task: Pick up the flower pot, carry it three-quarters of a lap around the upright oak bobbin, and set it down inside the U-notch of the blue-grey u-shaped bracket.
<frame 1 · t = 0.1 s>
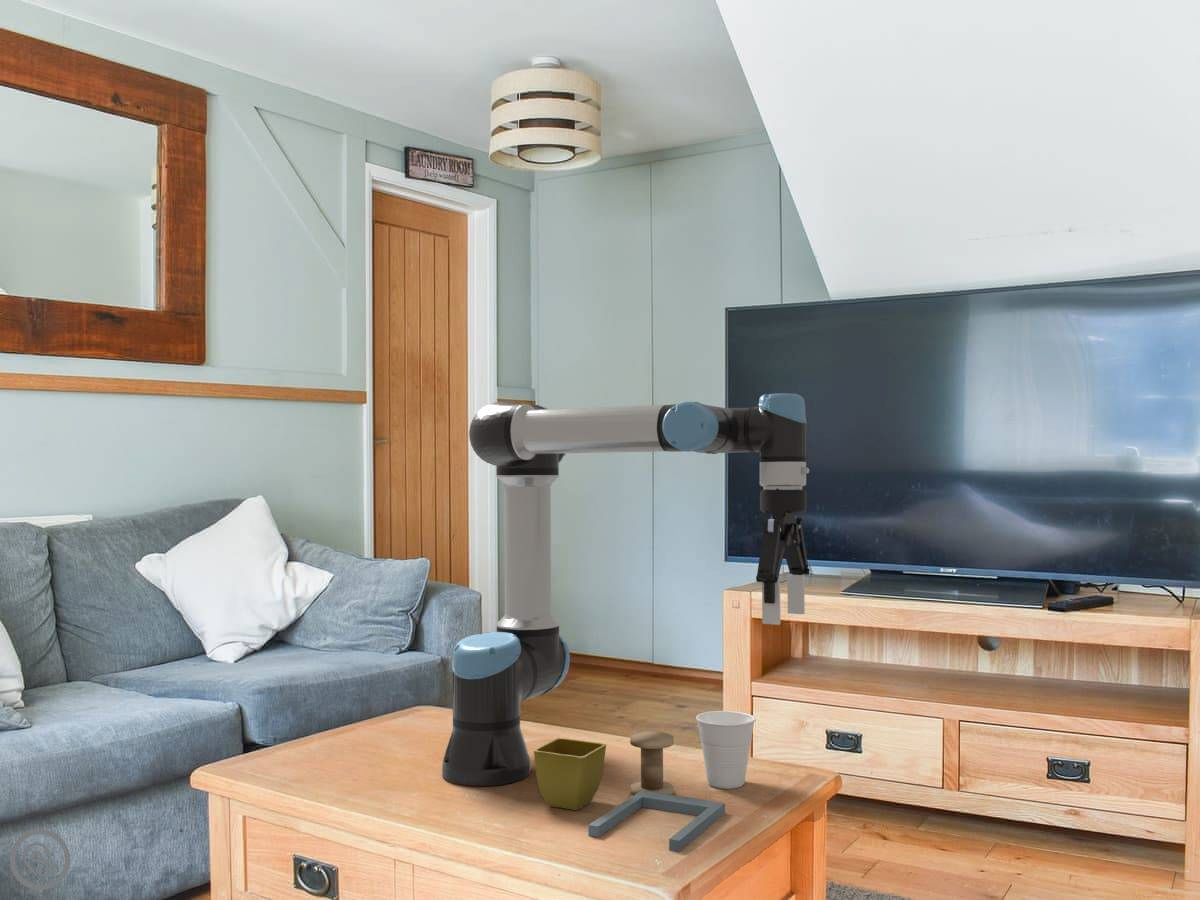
hand: (784, 618, 165), 28 cm above the table, fingers open, 13 cm apart
bobbin: (652, 792, 164), on the table
blue-grey u-shaped bracket: (659, 823, 149), on the table
cup: (726, 785, 169), on the table
flower pot: (570, 806, 158), on the table
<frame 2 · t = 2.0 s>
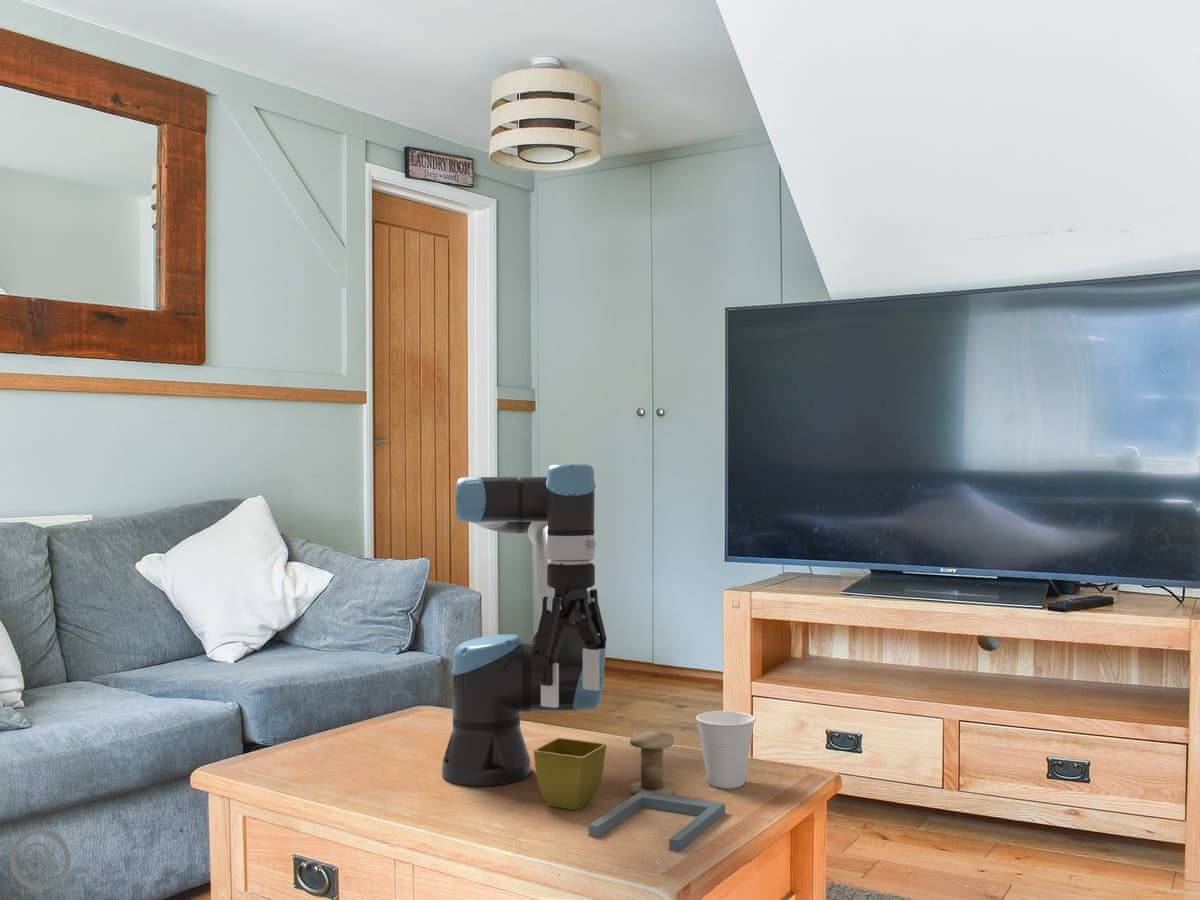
hand: (571, 697, 159), 17 cm above the table, fingers open, 13 cm apart
nothing on the table moved.
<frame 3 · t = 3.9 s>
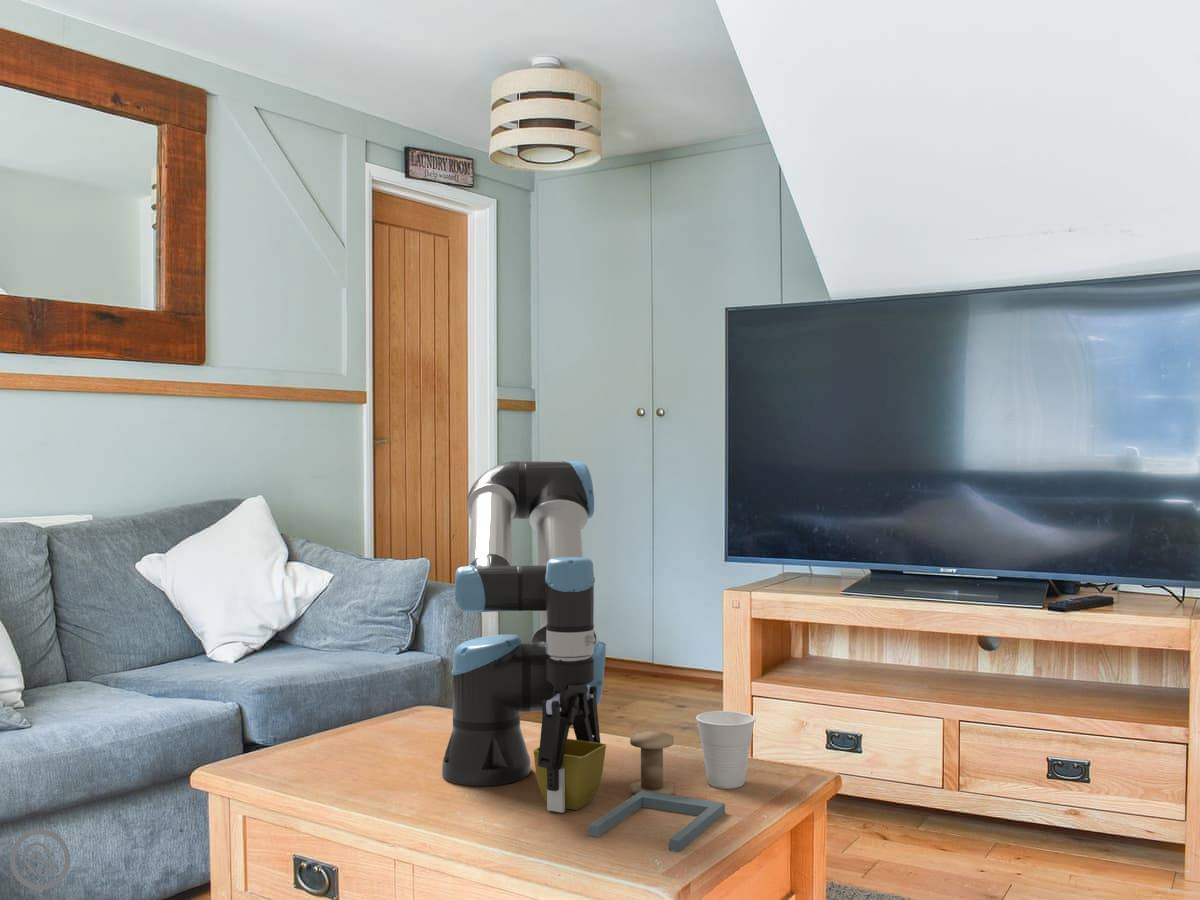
hand: (570, 801, 158), 0 cm above the table, fingers closed on flower pot, 8 cm apart
flower pot: (570, 805, 158), on the table, touching gripper
everything else where it was.
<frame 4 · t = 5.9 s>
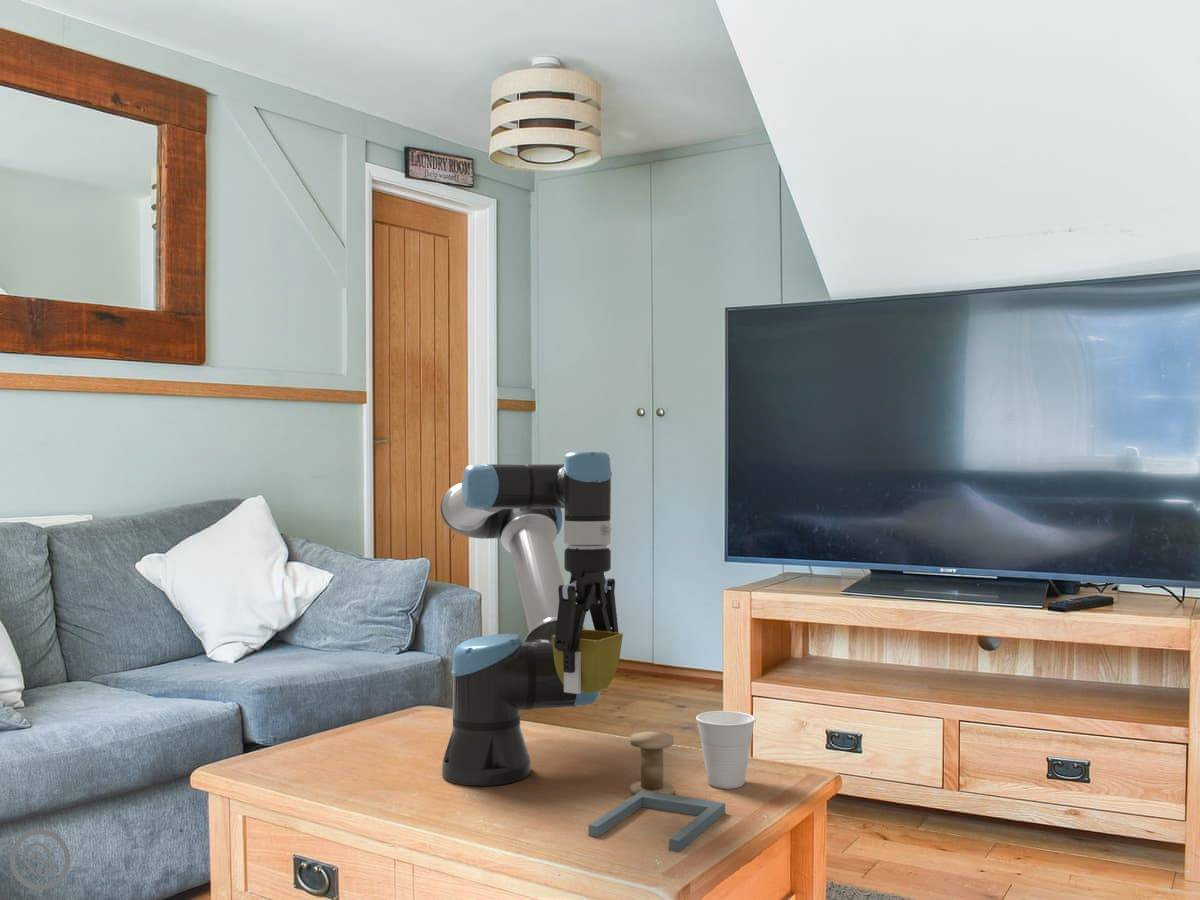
hand: (587, 687, 164), 17 cm above the table, fingers closed on flower pot, 8 cm apart
flower pot: (587, 691, 164), point 17 cm above the table, touching gripper
everything else where it was.
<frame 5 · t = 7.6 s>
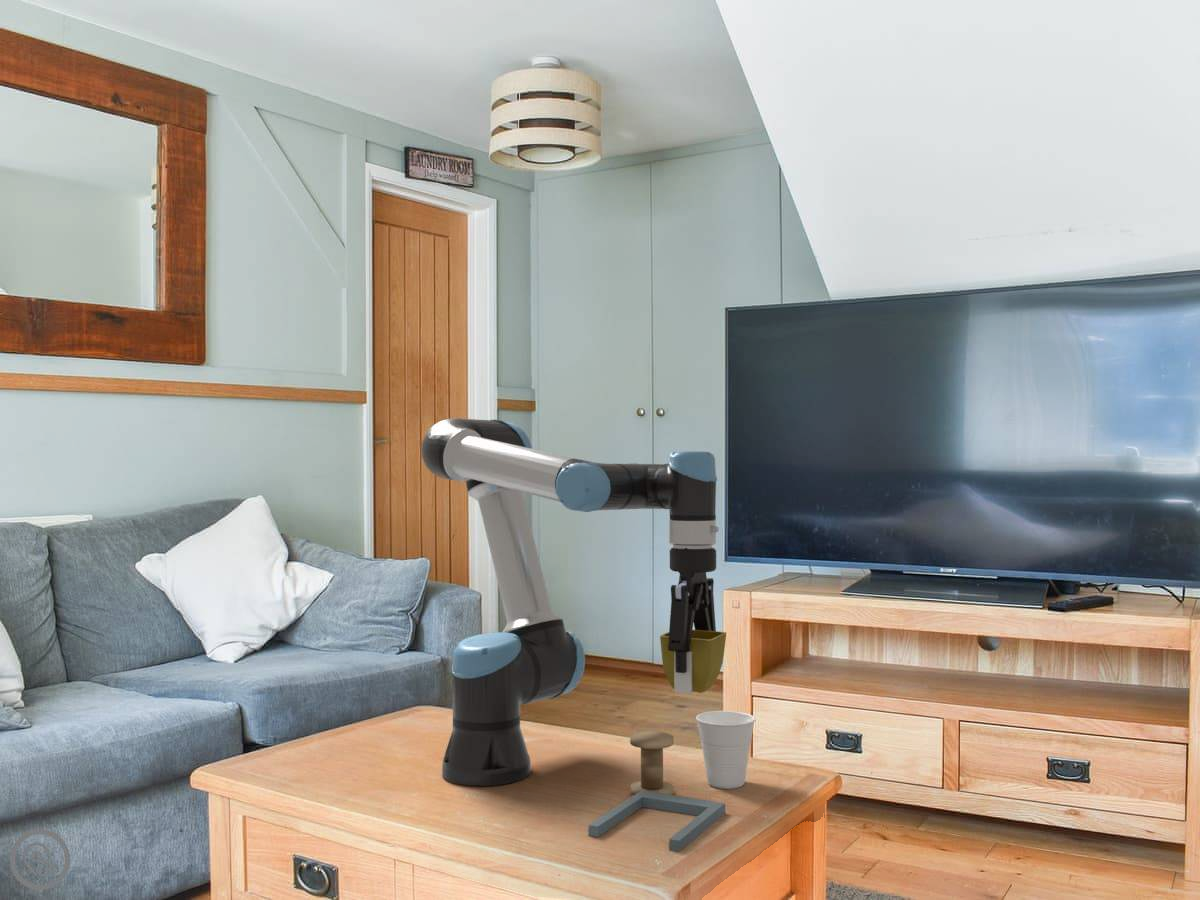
hand: (693, 687, 163), 17 cm above the table, fingers closed on flower pot, 8 cm apart
flower pot: (693, 690, 163), point 17 cm above the table, touching gripper
everything else where it was.
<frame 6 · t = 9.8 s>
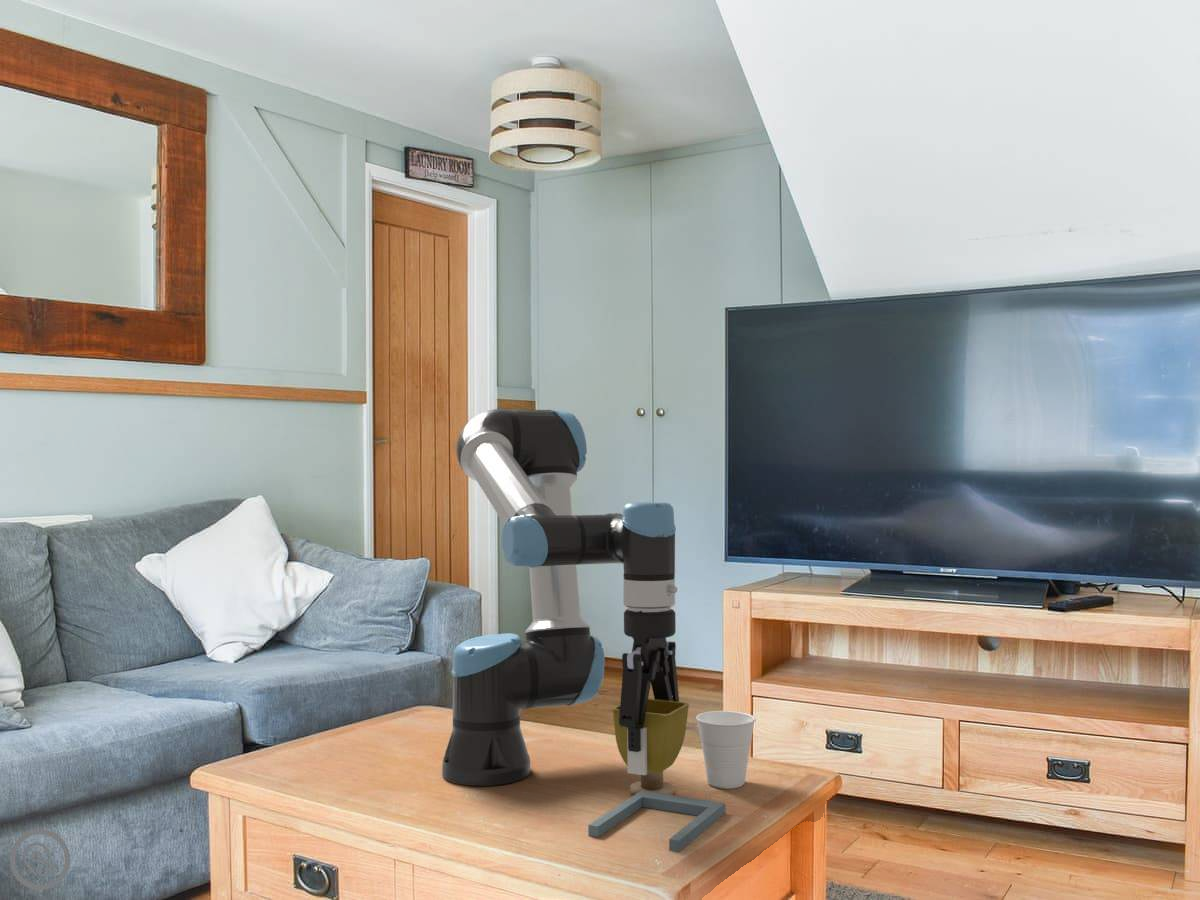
hand: (650, 765, 147), 9 cm above the table, fingers closed on flower pot, 8 cm apart
flower pot: (651, 769, 147), point 9 cm above the table, touching gripper
everything else where it was.
when the fingers open (2 cm above the table, at t = 11.4 s): flower pot drops 1 cm, on the table.
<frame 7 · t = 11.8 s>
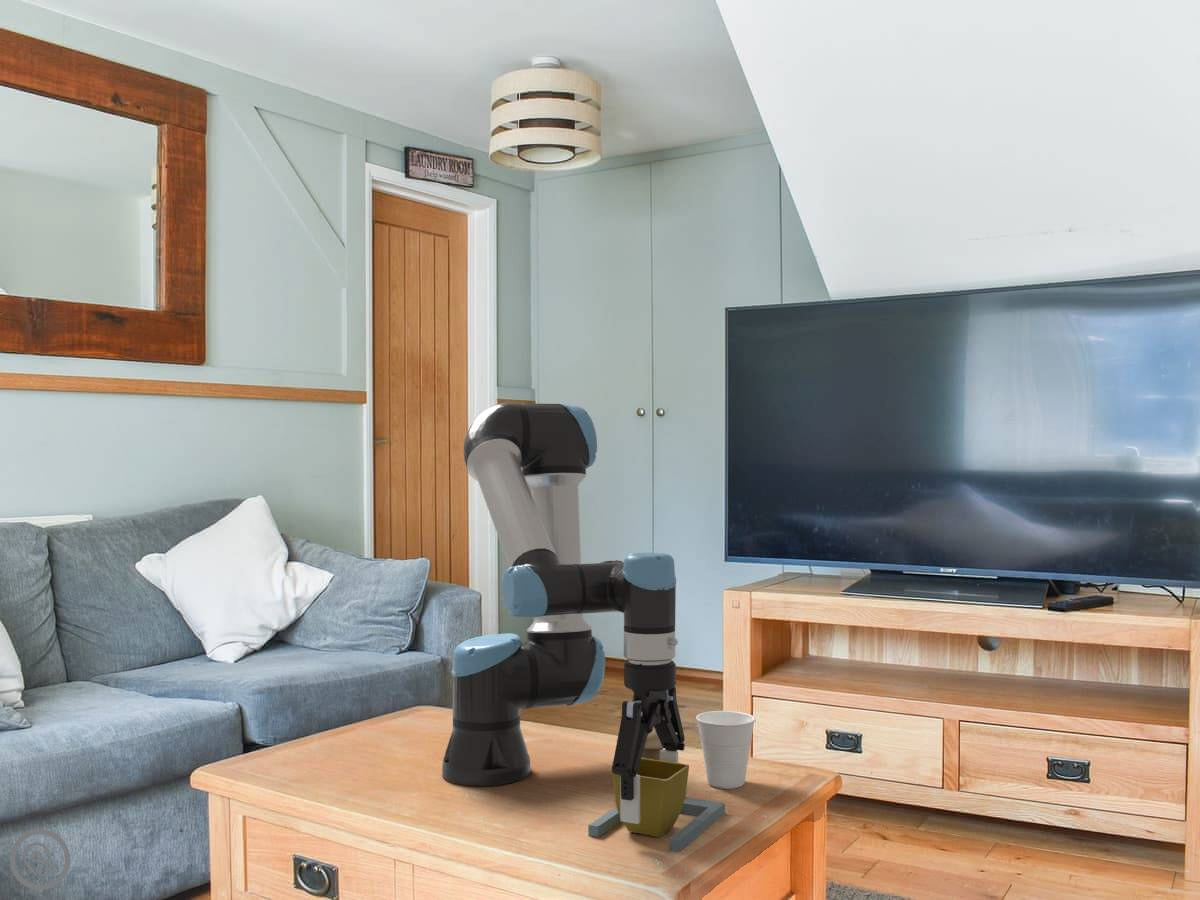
hand: (650, 808, 147), 3 cm above the table, fingers open, 13 cm apart
flower pot: (651, 831, 147), on the table
everything else where it was.
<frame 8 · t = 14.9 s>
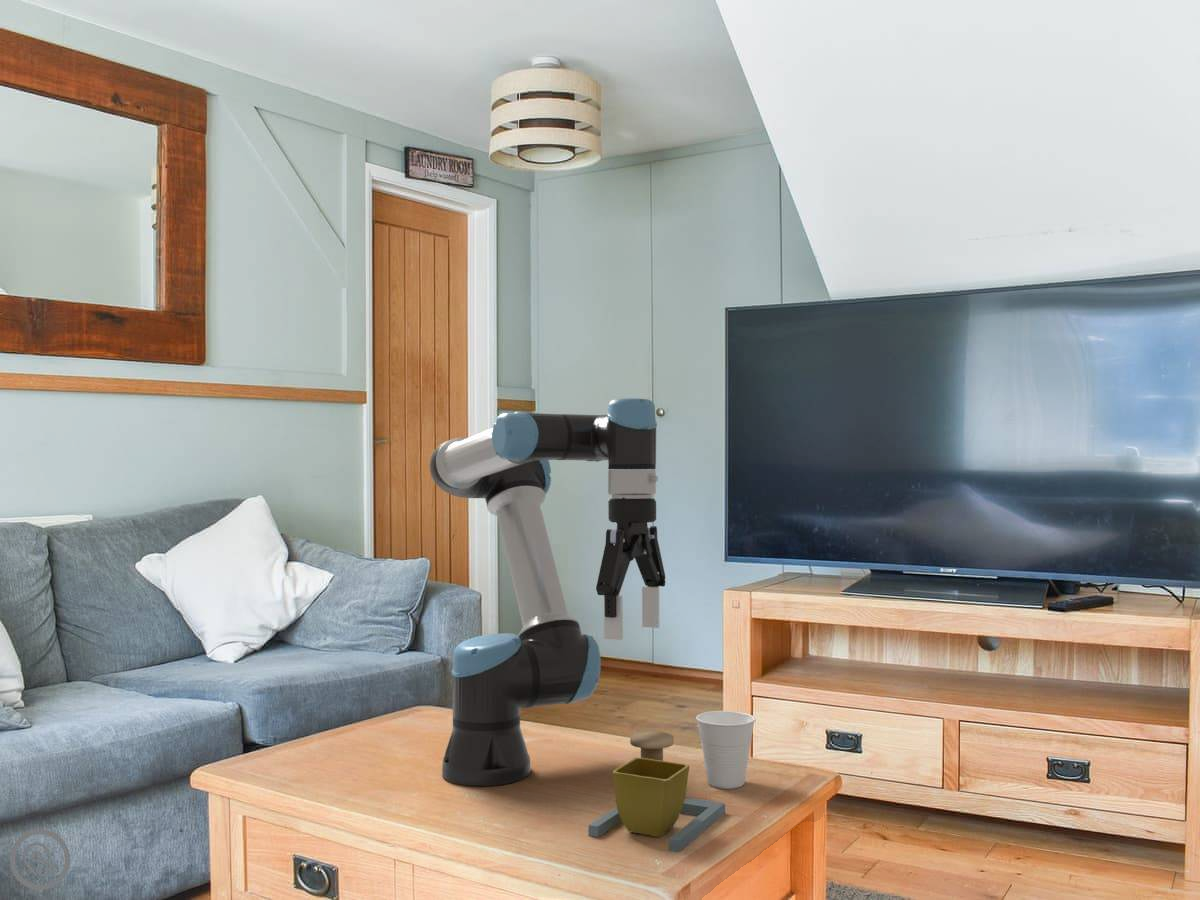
hand: (632, 633, 159), 27 cm above the table, fingers open, 13 cm apart
nothing on the table moved.
at the end: flower pot inside the target area (0.2 cm from its centre), on the table; flower pot tilted 0°; the gripper is holding nothing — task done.
